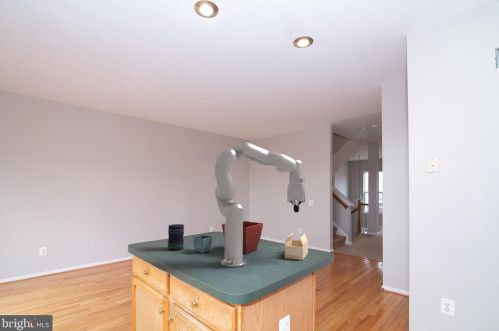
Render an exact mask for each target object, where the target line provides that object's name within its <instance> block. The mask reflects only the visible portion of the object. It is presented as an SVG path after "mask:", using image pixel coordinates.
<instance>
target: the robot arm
mask: <svg viewBox="0 0 499 331" xmlns="http://www.w3.org/2000/svg"><path fill="white" fill-rule="evenodd" d="M242 159H247V160H250V161H252V162H255V163H257V164H259V165H264V166H273V167H275V169H276V171H277V172H278V173H281V174H284V173H289V176H288V177H289V182H288V185H287V194H286V199H287V200H286V201H287V203H291V205H292V206H293V211H294V213H299V211H300V205H301V204H302V203H305V202H306V187H305V183H304V182H305V181H306V180H305V178H303V162H302V161H301V160H294V159H293V158H291V157H289V156H287V155H285V154H282V153H279V152H274V151H271V150H267V149H265V148H262V147H260V146H258V145H255V144H254V143H251V142H248V141H243V142H241V143H239V144H236V145H235V146H232V147H230V148H225V149H223V150H221V151H219V152H217V155H216V157H215V164H214V177H215V180H216V181H215V182H216V187H215V189H214V195H215V199H216V203H217V206H218V209H219V211H220V213H221V216H222V217H223V218H225V221H224V224H225V238H224V252H223V255H224V256H223V257H224V258H223V259H221V261H220V263H221V265H222V266H224V267H227V268H239V267H242V266H245V265H246V262H247V261H246V259H244V258H243V257H244V256H243V221H244V218H245V210H244V209H245V208H244V207H243V205H242V204H240V203H239V202H237V201H235V198H236V197H237V188H236V186H235V185H236V184H235V182H234V179H233V176H232V171H231V170H232V166H233V164H234V163H235V162H238V161H239V160H242Z"/></svg>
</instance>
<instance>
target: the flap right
mask: <svg viewBox="0 0 499 331" xmlns="http://www.w3.org/2000/svg"><path fill="white" fill-rule="evenodd" d="M299 240H301V243H302V246H303V245H304V244H305V243H306V242H307V241H308V238H307V236H306V233H303V235H302V236H300V238H299Z"/></svg>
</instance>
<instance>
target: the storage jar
mask: <svg viewBox="0 0 499 331" xmlns="http://www.w3.org/2000/svg"><path fill="white" fill-rule="evenodd" d="M167 229H168V230H167V235H168V239H167V250H168V251H169V252H179V251H183V250H184V245H185V240H184V235H185V234H184V233H185V224H182V223H181V224H179V223H178V224H177V223H176V224H175V223H173V224H169V225H168V228H167Z"/></svg>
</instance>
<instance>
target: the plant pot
mask: <svg viewBox="0 0 499 331" xmlns="http://www.w3.org/2000/svg"><path fill="white" fill-rule="evenodd" d="M221 228H222V235H223V238H224V239H225V223H222V224H221ZM263 228H264V223H262V222H256V221H246V220H243V255H247V254H249V253H252V252H255V251H257V250H258V246H259V243H260V241H261V236H262V231H263Z"/></svg>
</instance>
